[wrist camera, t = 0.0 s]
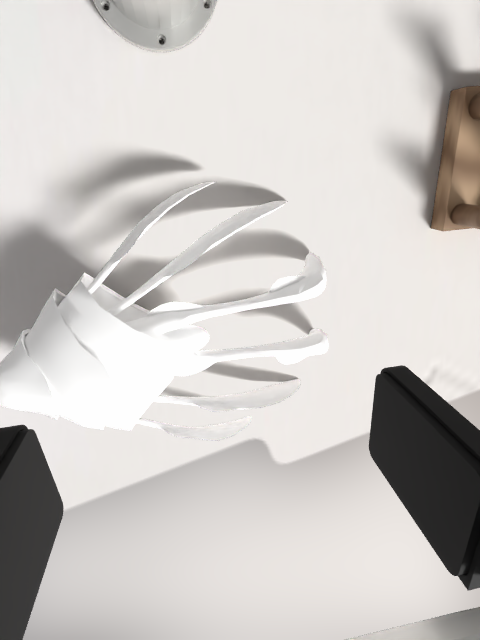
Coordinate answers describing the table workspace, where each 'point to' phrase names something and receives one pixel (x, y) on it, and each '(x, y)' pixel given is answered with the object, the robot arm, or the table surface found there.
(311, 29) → the table surface
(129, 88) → the table surface
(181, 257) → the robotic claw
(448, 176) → the stool
